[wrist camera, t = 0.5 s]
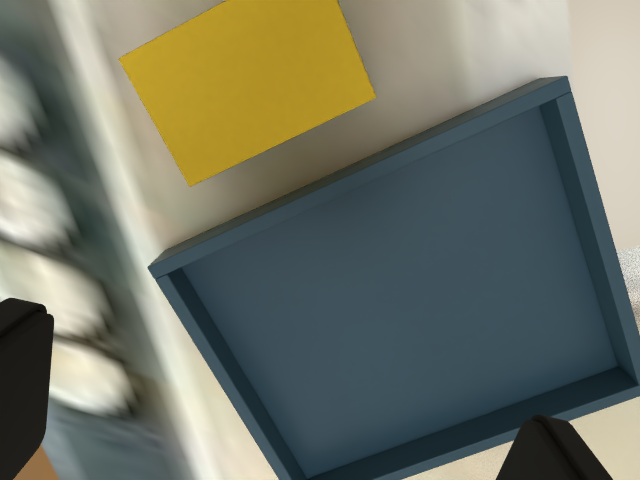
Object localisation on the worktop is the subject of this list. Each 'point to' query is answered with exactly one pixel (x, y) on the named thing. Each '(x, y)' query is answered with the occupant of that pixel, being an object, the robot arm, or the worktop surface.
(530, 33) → the worktop surface
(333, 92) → the sponge
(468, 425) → the tray
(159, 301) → the worktop surface
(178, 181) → the worktop surface
